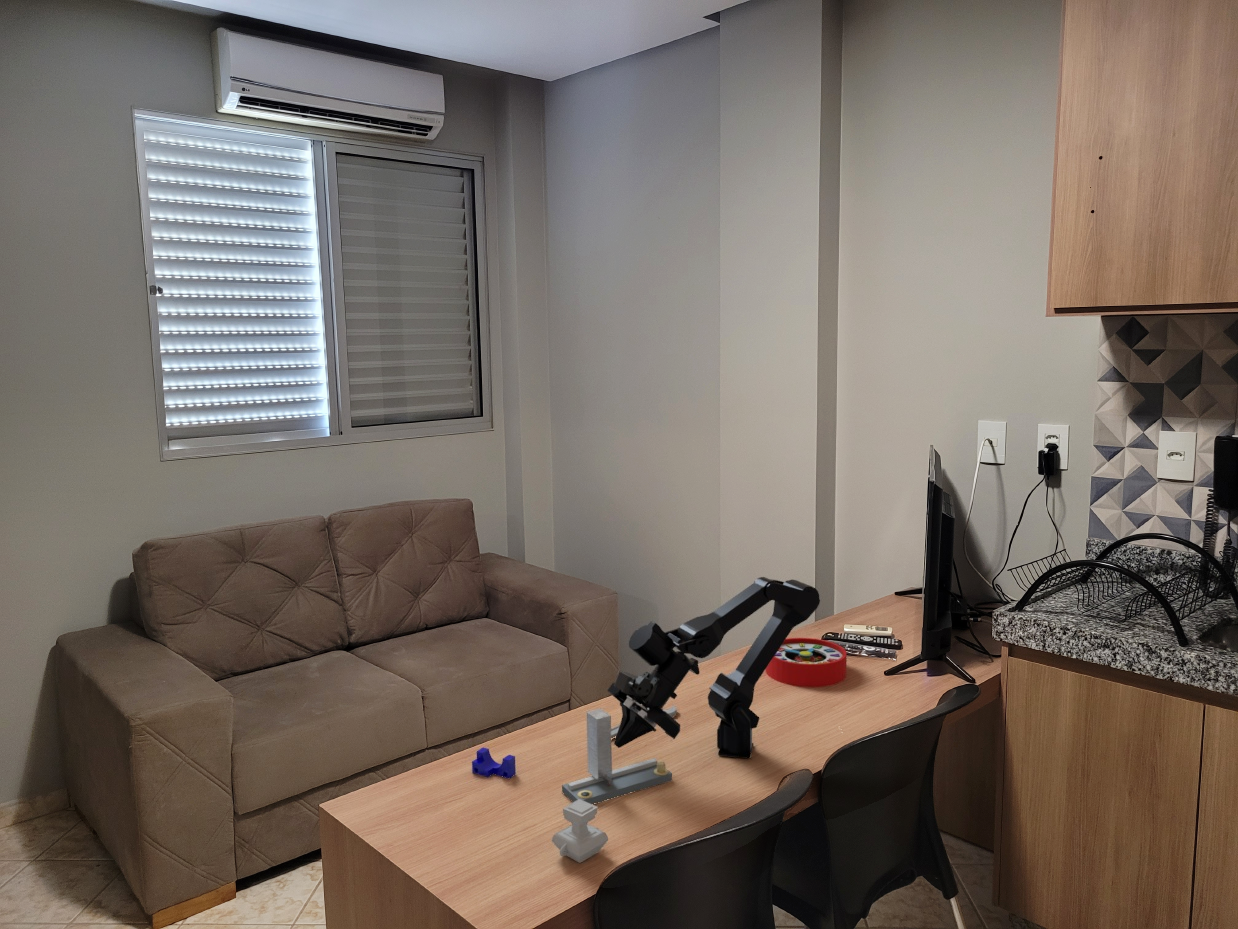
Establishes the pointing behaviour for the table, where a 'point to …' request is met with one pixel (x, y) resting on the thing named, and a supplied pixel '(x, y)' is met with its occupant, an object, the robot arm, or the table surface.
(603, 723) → the sliding jaw
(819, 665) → the toy clock
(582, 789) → the plate
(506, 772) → the cable holder
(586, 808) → the stamp
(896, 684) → the table surface
